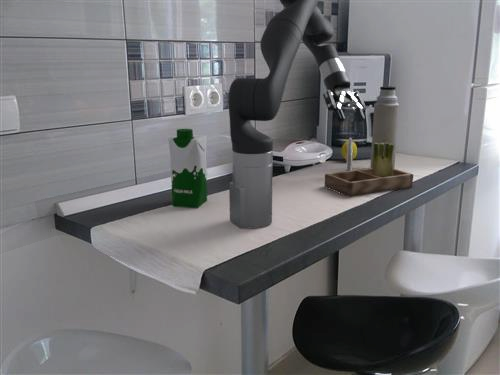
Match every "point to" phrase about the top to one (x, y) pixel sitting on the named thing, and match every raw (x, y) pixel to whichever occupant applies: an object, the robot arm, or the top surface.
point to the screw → (349, 156)
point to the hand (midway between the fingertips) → (352, 121)
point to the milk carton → (188, 168)
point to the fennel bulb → (382, 160)
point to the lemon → (344, 150)
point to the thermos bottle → (385, 120)
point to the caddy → (367, 182)
